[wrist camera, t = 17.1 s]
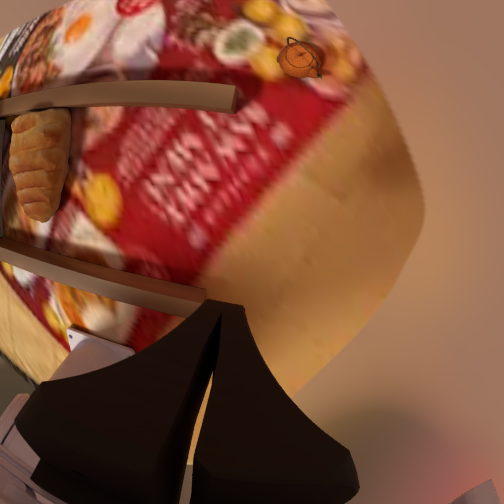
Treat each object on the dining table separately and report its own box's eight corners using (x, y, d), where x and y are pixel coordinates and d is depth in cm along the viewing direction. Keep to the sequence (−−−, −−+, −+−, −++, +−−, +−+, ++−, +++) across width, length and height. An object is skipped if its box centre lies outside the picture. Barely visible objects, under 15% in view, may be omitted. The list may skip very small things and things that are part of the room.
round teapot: (317, 45, 14) (325, 30, 12) (321, 83, 15) (329, 73, 13) (274, 43, 14) (275, 28, 12) (277, 82, 15) (278, 70, 13)
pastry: (78, 217, 19) (49, 231, 16) (29, 217, 19) (2, 228, 16) (78, 103, 16) (47, 99, 12) (27, 118, 16) (-2, 118, 13)
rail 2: (204, 306, 21) (198, 320, 19) (-8, 245, 20) (-19, 252, 18) (206, 289, 20) (200, 303, 18) (-9, 233, 20) (-21, 239, 18)
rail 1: (234, 114, 16) (230, 109, 14) (-8, 119, 16) (-21, 120, 14) (238, 92, 16) (235, 85, 14) (-6, 106, 15) (-19, 106, 13)
